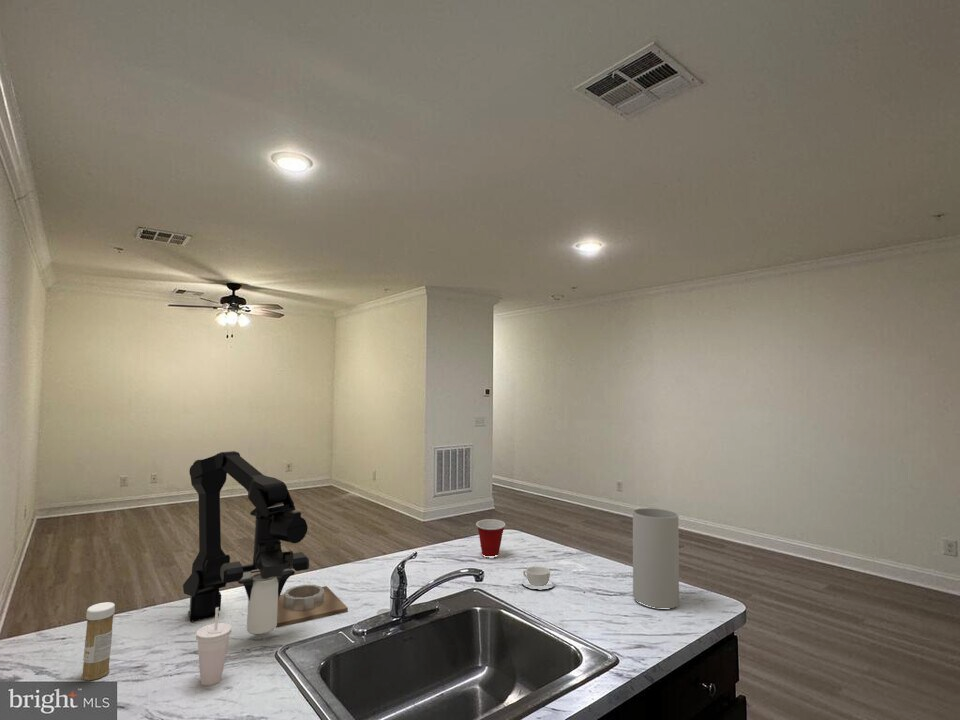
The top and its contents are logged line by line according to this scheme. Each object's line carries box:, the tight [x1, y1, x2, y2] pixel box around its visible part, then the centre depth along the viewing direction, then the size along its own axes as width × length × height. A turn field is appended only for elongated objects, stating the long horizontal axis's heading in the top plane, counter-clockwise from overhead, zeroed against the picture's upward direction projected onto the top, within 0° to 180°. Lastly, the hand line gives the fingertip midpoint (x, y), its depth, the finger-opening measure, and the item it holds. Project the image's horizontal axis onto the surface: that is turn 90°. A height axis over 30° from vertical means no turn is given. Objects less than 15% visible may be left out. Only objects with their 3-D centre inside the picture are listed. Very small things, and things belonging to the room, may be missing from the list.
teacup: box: [523, 565, 551, 586], centre depth 155 cm, size 10×10×5 cm
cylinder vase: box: [632, 507, 680, 609], centre depth 145 cm, size 12×12×25 cm
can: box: [246, 572, 278, 636], centre depth 118 cm, size 6×6×12 cm
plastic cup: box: [475, 518, 506, 556], centre depth 183 cm, size 11×11×12 cm
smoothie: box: [195, 607, 233, 686], centre depth 100 cm, size 6×6×14 cm
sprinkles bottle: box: [81, 601, 116, 681], centre depth 101 cm, size 5×5×13 cm
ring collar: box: [283, 584, 324, 611], centre depth 135 cm, size 10×10×3 cm
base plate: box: [275, 585, 349, 629], centre depth 135 cm, size 18×18×1 cm
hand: (263, 604), depth 118 cm, fingers closed on can, 5 cm apart
